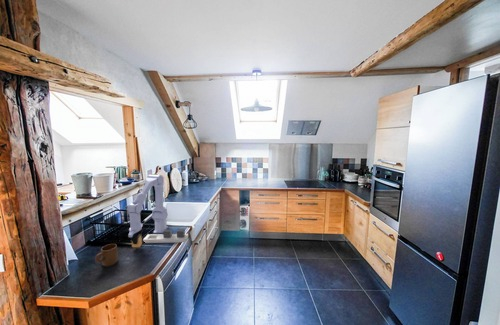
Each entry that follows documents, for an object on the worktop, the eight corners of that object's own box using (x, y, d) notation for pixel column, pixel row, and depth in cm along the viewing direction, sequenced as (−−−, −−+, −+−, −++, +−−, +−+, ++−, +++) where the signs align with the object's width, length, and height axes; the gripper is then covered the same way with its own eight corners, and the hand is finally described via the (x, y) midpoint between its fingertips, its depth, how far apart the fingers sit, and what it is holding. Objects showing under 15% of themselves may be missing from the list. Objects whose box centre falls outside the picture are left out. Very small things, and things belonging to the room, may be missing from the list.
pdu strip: (147, 237, 143) (147, 228, 142) (188, 237, 145) (187, 227, 144) (143, 243, 136) (142, 233, 135) (185, 242, 138) (185, 232, 137)
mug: (102, 273, 107) (100, 256, 105) (90, 270, 108) (89, 254, 107) (121, 259, 118) (120, 244, 117) (110, 257, 120) (109, 242, 119)
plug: (134, 244, 131) (134, 234, 130) (141, 244, 132) (141, 234, 131) (132, 247, 128) (131, 236, 127) (139, 247, 128) (138, 236, 127)
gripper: (134, 217, 134) (135, 236, 136) (122, 227, 120) (124, 248, 122) (145, 217, 135) (146, 236, 137) (134, 227, 120) (136, 248, 122)
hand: (136, 242), depth 129 cm, fingers closed on plug, 3 cm apart
